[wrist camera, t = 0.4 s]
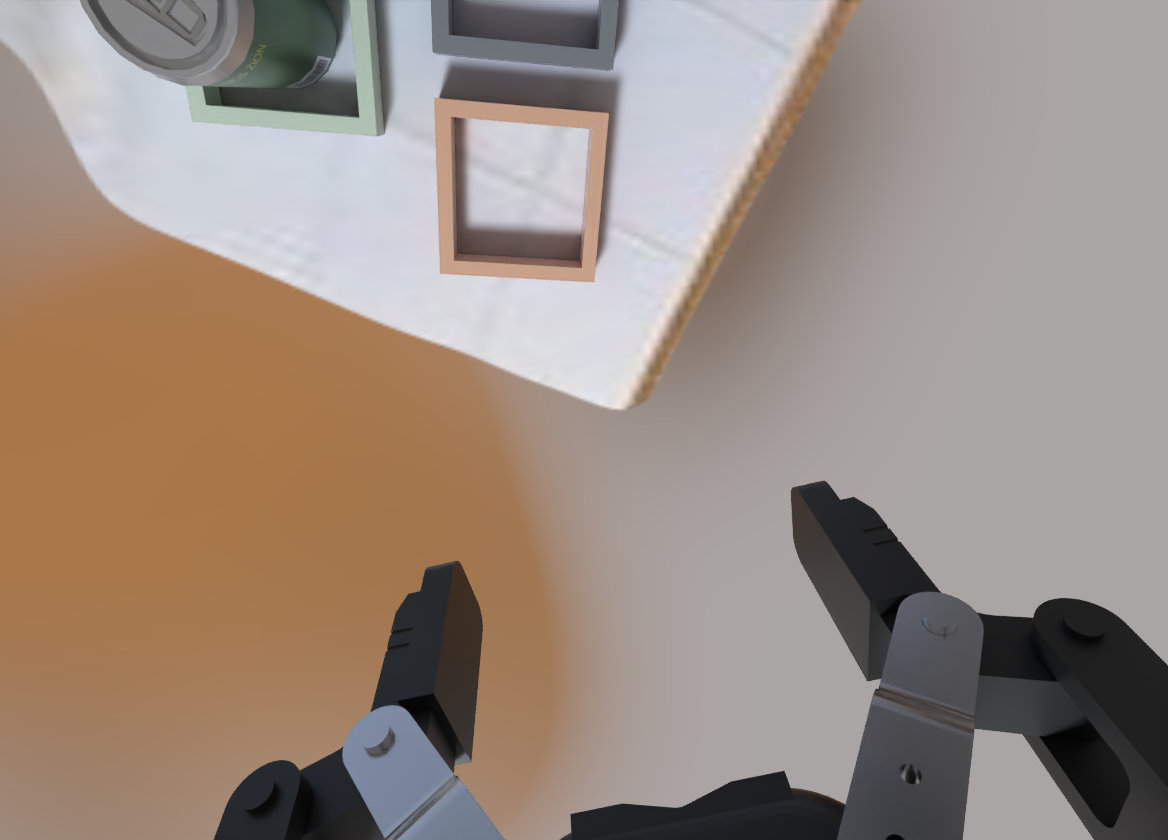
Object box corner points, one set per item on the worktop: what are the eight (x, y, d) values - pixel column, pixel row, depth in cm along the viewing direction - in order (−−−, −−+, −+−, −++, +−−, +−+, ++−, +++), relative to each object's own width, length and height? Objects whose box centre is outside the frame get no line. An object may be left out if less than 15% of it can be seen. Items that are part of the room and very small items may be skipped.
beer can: (362, 27, 30) (274, -8, 20) (302, 113, 32) (192, 121, 22) (265, -68, 28) (110, -164, 18) (206, 28, 30) (32, -8, 19)
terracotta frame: (438, 97, 32) (434, 97, 31) (605, 112, 33) (608, 113, 32) (444, 265, 36) (440, 273, 35) (591, 274, 37) (594, 282, 36)
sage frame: (167, -98, 28) (145, -110, 26) (369, -74, 29) (360, -84, 27) (209, 120, 32) (192, 121, 30) (384, 134, 33) (377, 136, 31)
